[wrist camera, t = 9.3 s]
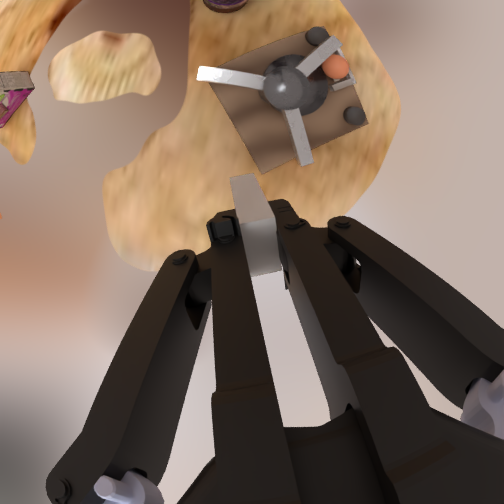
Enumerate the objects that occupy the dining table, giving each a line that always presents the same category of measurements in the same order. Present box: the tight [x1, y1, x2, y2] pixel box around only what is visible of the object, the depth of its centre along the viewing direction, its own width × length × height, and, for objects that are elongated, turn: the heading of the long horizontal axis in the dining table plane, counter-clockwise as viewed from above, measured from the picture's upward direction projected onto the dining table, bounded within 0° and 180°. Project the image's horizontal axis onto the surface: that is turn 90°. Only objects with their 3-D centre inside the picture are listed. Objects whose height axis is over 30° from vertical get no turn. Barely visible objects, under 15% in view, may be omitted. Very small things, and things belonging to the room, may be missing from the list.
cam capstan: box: [197, 35, 343, 167], centre depth 32 cm, size 19×16×8 cm
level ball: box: [322, 54, 349, 79], centre depth 31 cm, size 4×4×4 cm
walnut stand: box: [209, 26, 368, 174], centre depth 34 cm, size 18×20×4 cm
